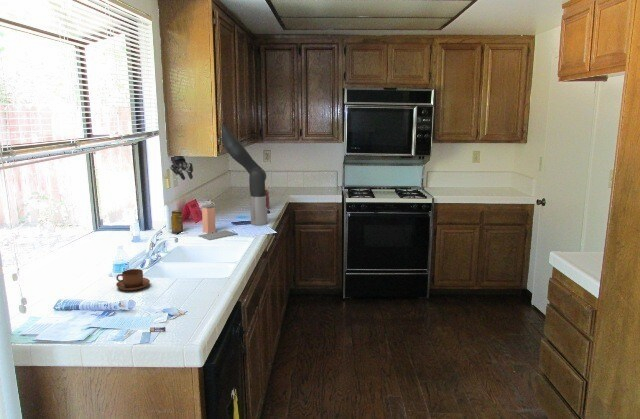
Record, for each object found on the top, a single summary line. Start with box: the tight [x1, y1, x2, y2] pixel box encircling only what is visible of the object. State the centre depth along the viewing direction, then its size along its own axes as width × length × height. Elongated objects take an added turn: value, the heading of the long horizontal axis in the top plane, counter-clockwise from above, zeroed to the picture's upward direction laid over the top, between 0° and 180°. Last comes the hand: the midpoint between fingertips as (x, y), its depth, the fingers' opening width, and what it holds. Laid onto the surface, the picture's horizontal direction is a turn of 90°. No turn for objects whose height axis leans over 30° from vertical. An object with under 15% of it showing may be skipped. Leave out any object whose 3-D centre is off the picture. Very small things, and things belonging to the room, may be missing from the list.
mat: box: [197, 229, 238, 241], centre depth 263 cm, size 18×11×1 cm, turn 136°
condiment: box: [169, 209, 188, 235], centre depth 268 cm, size 7×8×12 cm
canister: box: [265, 186, 270, 210], centre depth 337 cm, size 13×13×18 cm
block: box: [201, 204, 217, 234], centre depth 269 cm, size 5×5×15 cm
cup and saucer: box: [115, 268, 151, 291], centre depth 184 cm, size 12×12×6 cm
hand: (187, 178), depth 279 cm, fingers open, 4 cm apart
